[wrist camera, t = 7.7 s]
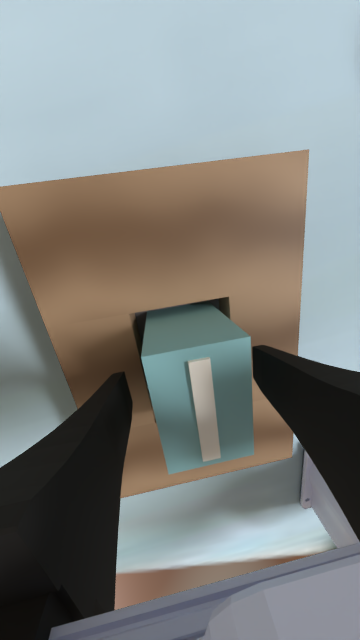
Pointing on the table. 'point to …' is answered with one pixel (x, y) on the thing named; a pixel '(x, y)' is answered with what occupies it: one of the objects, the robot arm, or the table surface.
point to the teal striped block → (199, 385)
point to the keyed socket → (164, 278)
